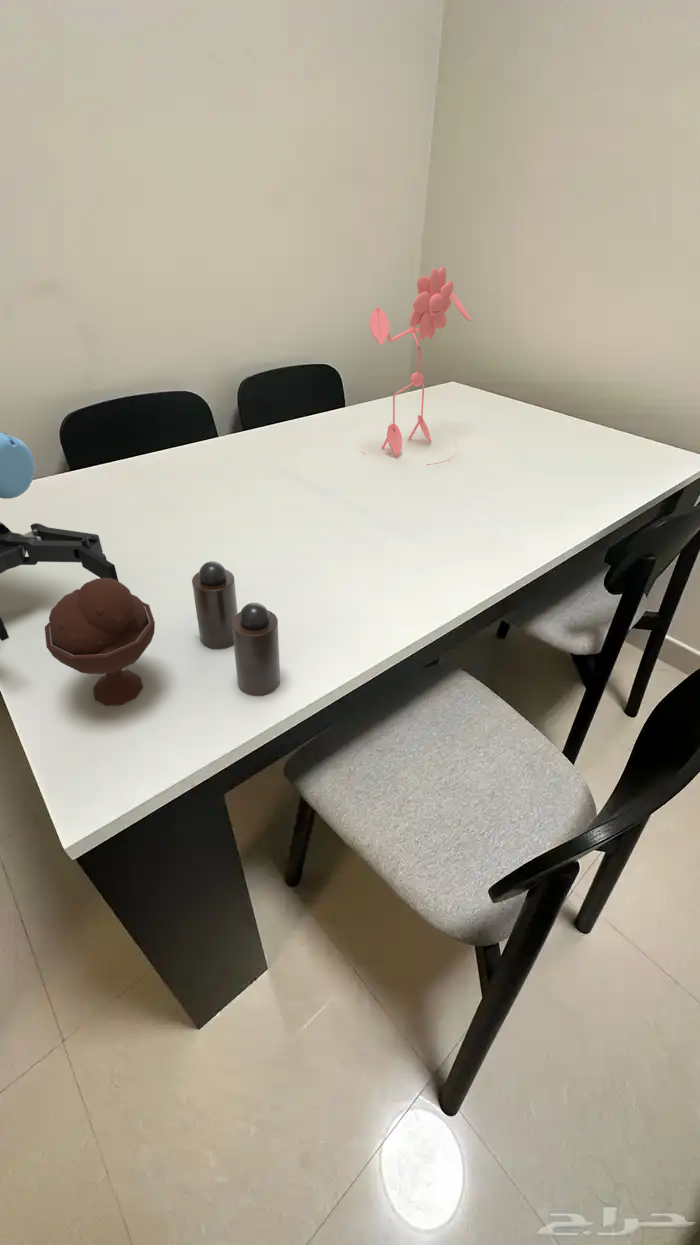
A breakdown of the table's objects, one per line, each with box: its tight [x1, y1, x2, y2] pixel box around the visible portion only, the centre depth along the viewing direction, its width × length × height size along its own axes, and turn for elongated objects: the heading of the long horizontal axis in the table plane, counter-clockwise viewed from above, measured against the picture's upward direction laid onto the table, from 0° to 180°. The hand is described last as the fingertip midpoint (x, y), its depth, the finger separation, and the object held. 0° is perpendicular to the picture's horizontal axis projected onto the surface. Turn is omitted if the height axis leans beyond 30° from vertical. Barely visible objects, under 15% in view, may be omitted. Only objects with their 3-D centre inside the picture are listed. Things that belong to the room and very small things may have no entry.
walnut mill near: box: [232, 602, 281, 697], centre depth 66 cm, size 5×5×11 cm
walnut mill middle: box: [191, 560, 239, 650], centre depth 72 cm, size 5×5×11 cm
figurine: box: [360, 266, 472, 466], centre depth 117 cm, size 15×26×35 cm, turn 134°
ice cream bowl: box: [44, 577, 156, 707], centre depth 62 cm, size 11×11×15 cm
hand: (61, 601), depth 65 cm, fingers open, 13 cm apart
